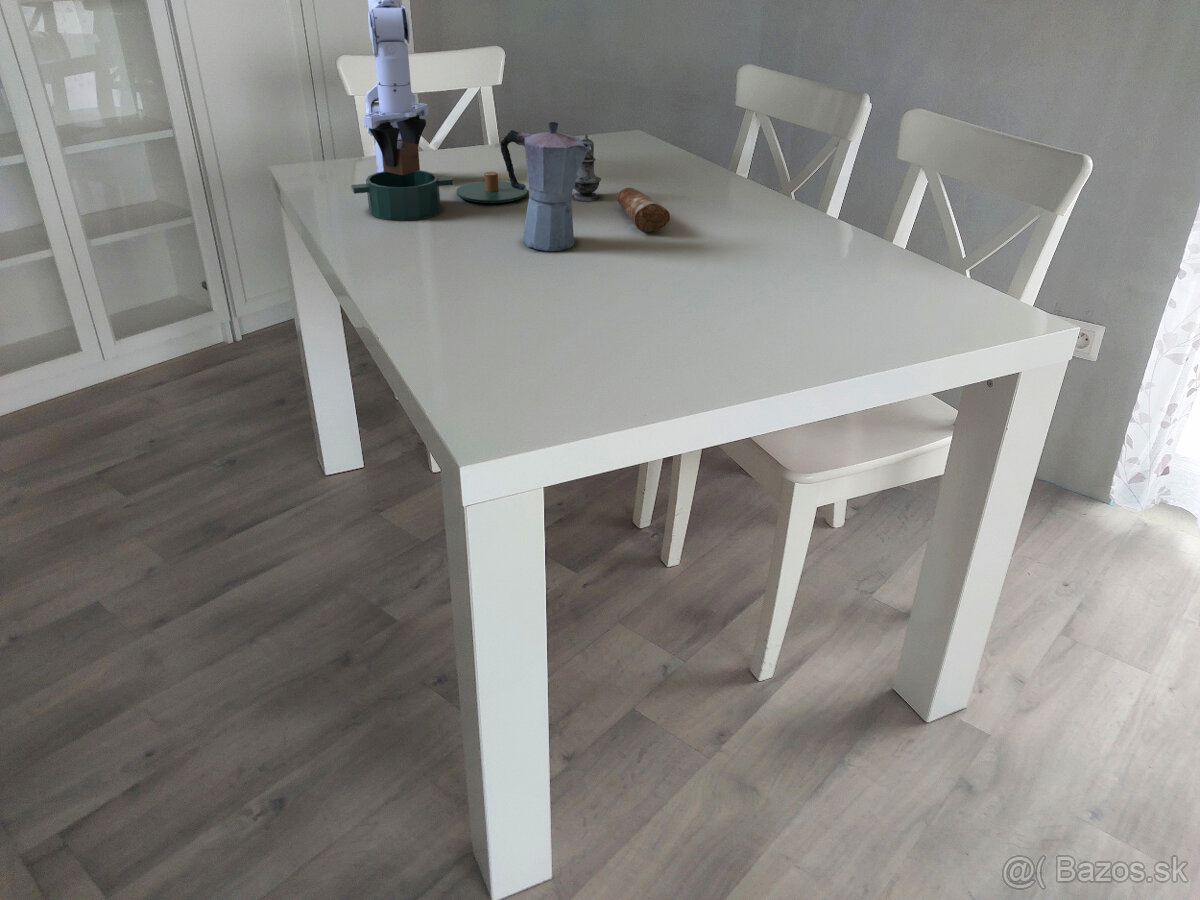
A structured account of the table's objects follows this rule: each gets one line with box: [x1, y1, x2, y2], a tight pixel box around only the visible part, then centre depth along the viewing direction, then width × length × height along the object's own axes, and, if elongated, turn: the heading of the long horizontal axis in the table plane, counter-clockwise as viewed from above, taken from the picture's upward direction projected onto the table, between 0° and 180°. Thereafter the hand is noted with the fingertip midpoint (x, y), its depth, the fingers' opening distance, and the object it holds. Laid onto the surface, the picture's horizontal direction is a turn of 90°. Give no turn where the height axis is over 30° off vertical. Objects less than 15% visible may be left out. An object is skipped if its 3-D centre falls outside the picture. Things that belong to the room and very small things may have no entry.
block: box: [382, 141, 421, 175], centre depth 169 cm, size 5×5×5 cm
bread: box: [616, 187, 671, 233], centre depth 170 cm, size 6×19×6 cm, turn 11°
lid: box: [455, 171, 528, 204], centre depth 182 cm, size 14×14×4 cm
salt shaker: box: [571, 133, 602, 202], centre depth 180 cm, size 6×6×12 cm
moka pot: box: [500, 121, 592, 252], centre depth 153 cm, size 10×15×20 cm, turn 78°
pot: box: [351, 169, 454, 222], centre depth 172 cm, size 13×18×6 cm
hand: (401, 163), depth 169 cm, fingers closed on block, 4 cm apart
